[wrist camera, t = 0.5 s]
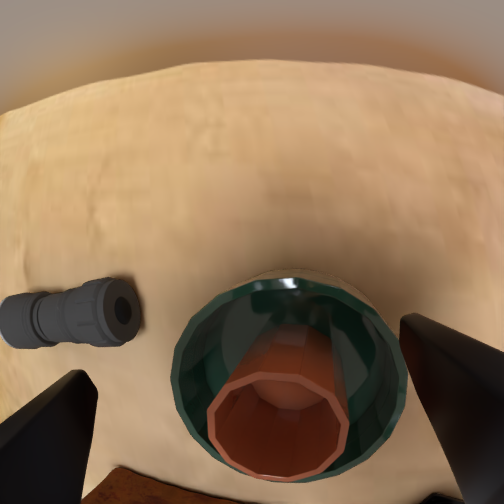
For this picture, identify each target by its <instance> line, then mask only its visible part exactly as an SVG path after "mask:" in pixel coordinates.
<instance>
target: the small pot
mask: <svg viewBox="0 0 504 504" xmlns="http://www.w3.org/2000/svg"><path fill="white" fill-rule="evenodd" d="M207 422H208V437H209V440H210V441H211V442H212V444H213V445H214V447H215V448H216V449H217V451H218V452H219V453H220V455H221V456H222V457H223V459H224V460H225V461H226V462H227V463H228V464H230V465H231V466H233V467H235V468H237V469H239V470H240V471H242V472H244V473H246V474H248V475H250V476H252V477H254V478H256V479H264V480H272V481H282V482H292V481H296V480H299V479H303V478H306V477H310V476H313V475H316V474H320V473H322V472H323V471H324V470H325V469H326V468H327V467H328V466H329V465H331V464H332V463H333V462H334V461H335V460H336V459H337V458H338V457H339V456H340V455H341V454H342V453H343V451H344V449H345V444H346V439H347V434H348V429H349V414H348V404H347V395H346V387H345V378H344V371H343V363H342V359H341V357H340V355H339V353H338V351H337V349H336V347H335V345H334V343H333V341H332V340H331V339H330V338H329V337H327V336H326V335H324V334H322V333H321V332H319V331H317V330H316V329H314V328H312V327H311V326H308V325H294V324H280V325H278V326H276V327H274V328H272V329H270V330H268V331H266V332H264V333H261V334H259V335H258V336H257V338H256V339H255V341H254V342H253V344H252V345H251V347H250V348H249V350H248V351H247V352H246V354H245V355H244V357H243V358H242V360H241V361H240V363H239V364H238V366H237V367H236V368H235V370H234V371H233V373H232V374H231V376H230V377H229V379H228V380H227V381H226V383H225V384H224V386H223V387H222V389H221V390H220V391H219V393H218V394H217V396H216V397H215V399H214V400H213V402H212V403H211V404H210V406H209V407H208V409H207Z"/></svg>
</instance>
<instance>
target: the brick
mask: <svg viewBox="0 0 504 504" xmlns="http://www.w3.org/2000/svg"><path fill="white" fill-rule="evenodd" d="M81 504H241V503H236V502H232V501H229V500H224V499H216V498H212V497H208V496H205V495H203V494H199V493H192V492H189V491H185V490H182V489H179V488H177V487H175V486H170V485H166V484H163V483H160V482H157V481H155V480H153V479H151V478H147V477H143V476H140V475H137V474H135V473H133V472H131V471H129V470H127V469H123V468H115V469H114V470H112V471H111V472H110V473H109V475H108V476H107V477H106V478H105V479H104V480H103V481H102V482H101V483H100V484H99V485H98V486H97V487H96V488H94V489H93V490H92V491H91V492H90V493H89V494H88V495H87V496H86V497H84V498H83V499H82V501H81Z"/></svg>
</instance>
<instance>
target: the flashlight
mask: <svg viewBox="0 0 504 504" xmlns="http://www.w3.org/2000/svg"><path fill="white" fill-rule="evenodd" d="M139 326H140V308H139V303H138V300H137V297H136V294H135V292H134V291H133V289H132V288H131V286H130V285H129V284H128V283H127V282H125V281H123V280H117V279H115V278H110V277H106V278H101V279H96V280H91V281H88V282H85V283H84V284H83V285H82V286H81V287H78V288H73V289H68V290H67V291H65V292H62V293H56V294H51V293H49V292H38V293H34V294H33V293H21V294H17V295H12V296H8V297H6V298H5V299H3V300H2V302H1V303H0V336H1V338H2V339H3V340H4V342H5V343H6V344H8V345H9V346H11V347H13V348H16V349H37V348H39V347H52V346H55V345H57V344H58V343H60V342H73V343H76V344H80V343H86V344H91V345H93V346H96V347H116V346H122V345H123V344H125V343H126V342H128V341H131V340H132V339H133V338H134V337H135V336H136V334H137V332H138V329H139Z"/></svg>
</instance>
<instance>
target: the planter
mask: <svg viewBox="0 0 504 504" xmlns="http://www.w3.org/2000/svg"><path fill="white" fill-rule="evenodd" d="M280 324H294V325H308V326H311V327H312V328H314V329H316V330H317V331H319V332H321V333H322V334H324V335H326V336H327V337H329V338H330V339H331V340H332V341H333V343H334V345H335V347H336V349H337V351H338V353H339V355H340V357H341V359H342V363H343V371H344V378H345V387H346V395H347V404H348V414H349V429H348V434H347V439H346V444H345V449H344V451H343V453H342V454H341V455H340V456H339V457H338V458H337V459H336V460H335V461H334V462H333V463H332V464H331V465H329V466H328V467H327V468H326V469H325V470H324V471H323V472H322V473H320V474H316V475H313V476H310V477H306V478H303V479H299V480H296V481H292V482H283V483H306V482H312V481H316V480H321V479H325V478H329V477H333V476H337V475H340V474H341V473H343V472H345V471H347V470H349V469H351V468H353V467H355V466H356V465H358V464H360V463H362V462H364V461H365V460H367V459H368V458H369V457H370V456H371V455H372V454H373V453H374V452H376V451H377V450H378V449H379V448H380V447H381V445H382V444H383V443H384V442H385V441H386V440H387V439H388V438H389V437H390V436H391V434H392V432H393V430H394V428H395V426H396V424H397V422H398V420H399V418H400V416H401V414H402V412H403V410H404V407H405V402H406V392H407V382H408V370H407V367H406V363H405V360H404V357H403V354H402V352H401V349H400V345H399V340H398V338H397V337H396V335H395V334H394V332H393V331H392V330H391V328H390V327H389V325H388V324H387V323H386V321H385V320H384V318H383V317H382V316H381V315H380V313H379V312H378V311H377V309H376V308H375V307H374V306H373V304H372V303H371V302H370V301H369V299H368V298H367V297H366V296H365V295H364V294H363V293H361V292H360V291H358V290H357V289H356V288H354V287H353V286H351V285H350V284H348V283H346V282H345V281H343V280H341V279H339V278H338V277H335V276H331V275H329V274H326V273H322V272H318V271H314V270H307V269H282V270H276V271H268V272H265V273H263V274H260V275H257V276H255V277H253V278H250V279H248V280H245V281H243V282H240V283H238V284H237V285H235V286H233V287H231V288H229V289H228V290H226V291H224V292H222V293H220V294H219V295H217V296H216V297H215V298H214V299H213V300H211V301H210V302H209V303H208V304H207V305H206V306H204V307H203V308H202V309H201V310H200V311H199V312H197V313H196V314H195V315H194V316H193V317H192V318H191V319H190V321H189V322H188V324H187V326H186V328H185V330H184V331H183V333H182V335H181V337H180V339H179V341H178V342H177V344H176V346H175V349H174V356H173V363H172V369H171V376H170V378H171V379H170V380H171V385H172V391H173V396H174V401H175V405H176V408H177V411H178V413H179V415H180V417H181V419H182V420H183V422H184V424H185V426H186V428H187V429H188V431H189V433H190V435H192V437H193V438H194V439H195V440H196V441H197V442H198V443H199V444H200V445H201V446H202V447H203V448H204V449H205V450H206V451H207V452H208V453H209V454H210V455H211V456H212V457H214V458H215V459H217V460H218V461H220V462H222V463H223V464H225V465H227V466H229V467H230V468H232V469H234V470H236V471H238V472H240V473H242V474H245V475H248V474H246V473H244V472H242V471H240V470H239V469H237V468H235V467H233V466H231V465H230V464H228V463H227V462H226V461H225V460H224V459H223V457H222V456H221V455H220V453H219V452H218V451H217V449H216V448H215V447H214V445H213V444H212V442H211V441H210V440H209V437H208V422H207V409H208V407H209V406H210V404H211V403H212V402H213V400H214V399H215V397H216V396H217V394H218V393H219V391H220V390H221V389H222V387H223V386H224V384H225V383H226V381H227V380H228V379H229V377H230V376H231V374H232V373H233V371H234V370H235V368H236V367H237V366H238V364H239V363H240V361H241V360H242V358H243V357H244V355H245V354H246V352H247V351H248V350H249V348H250V347H251V345H252V344H253V342H254V341H255V339H256V338H257V336H258V335H259V334H261V333H264V332H266V331H268V330H270V329H272V328H274V327H276V326H278V325H280ZM248 476H250V475H248ZM263 480H264V479H263ZM267 481H271V482H282V481H272V480H267Z"/></svg>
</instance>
